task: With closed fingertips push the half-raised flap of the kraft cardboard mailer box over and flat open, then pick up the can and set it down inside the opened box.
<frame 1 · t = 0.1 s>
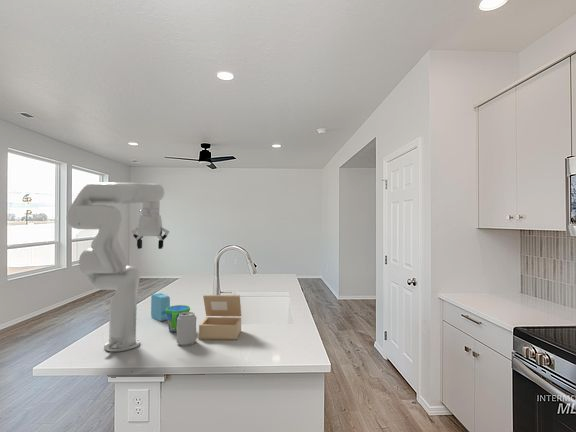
hand: (150, 248, 154), 37 cm above the worktop, tool pointing down, fingers open, 9 cm apart
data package: (160, 319, 167), on the worktop
lid: (222, 306, 147), point 12 cm above the worktop, hinge at 60.0°
can: (186, 343, 133), on the worktop
mailer: (220, 335, 143), on the worktop
snack cup: (177, 330, 149), on the worktop
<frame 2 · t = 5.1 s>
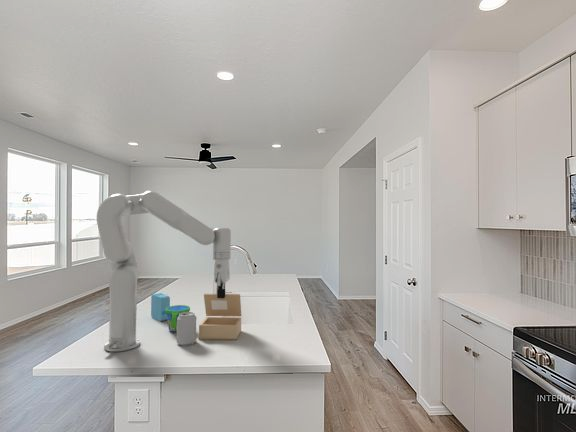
hand: (221, 297, 143), 16 cm above the worktop, tool pointing down, fingers closed
lid: (222, 305, 147), point 12 cm above the worktop, hinge at 64.7°, touching gripper
everything else where it was.
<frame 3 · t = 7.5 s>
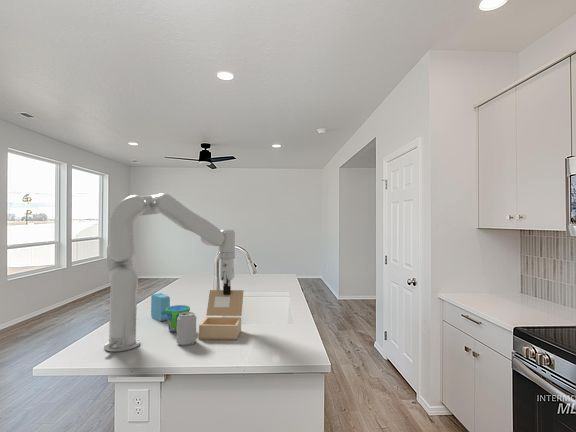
hand: (226, 294, 154), 15 cm above the worktop, tool pointing down, fingers closed
lid: (225, 302, 153), point 12 cm above the worktop, hinge at 121.4°, touching gripper
everything else where it was.
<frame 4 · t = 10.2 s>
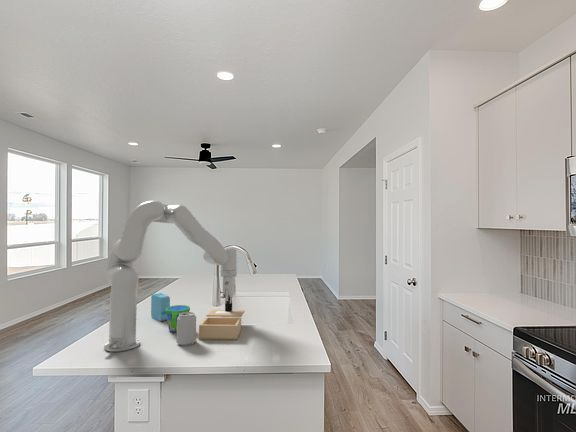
hand: (228, 310, 159), 6 cm above the worktop, tool pointing down, fingers closed
lid: (226, 313, 156), point 6 cm above the worktop, hinge at 183.6°, touching gripper
everything else where it was.
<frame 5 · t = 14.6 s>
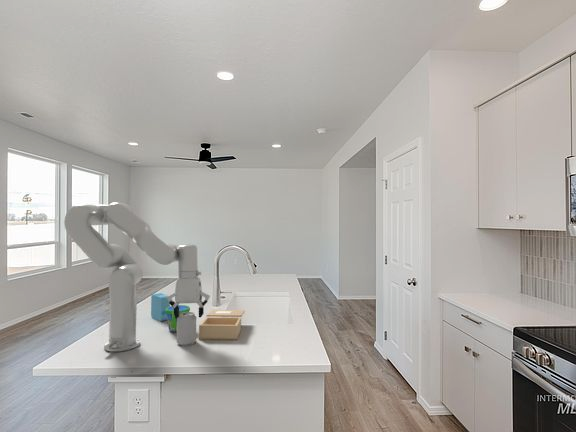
hand: (188, 316, 133), 11 cm above the worktop, tool pointing down, fingers open, 9 cm apart
lid: (226, 313, 156), point 6 cm above the worktop, hinge at 183.6°
can: (186, 343, 133), on the worktop, touching gripper
everything else where it was.
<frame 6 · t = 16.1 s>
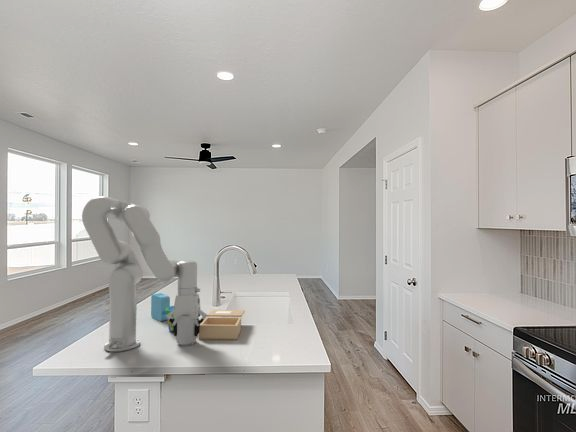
hand: (186, 334, 133), 3 cm above the worktop, tool pointing down, fingers closed on can, 7 cm apart
can: (186, 343, 133), on the worktop, touching gripper
everything else where it was.
when the fingers open (6 cm above the worktop, at t = 23.0 s): can drops 2 cm, resting on mailer.
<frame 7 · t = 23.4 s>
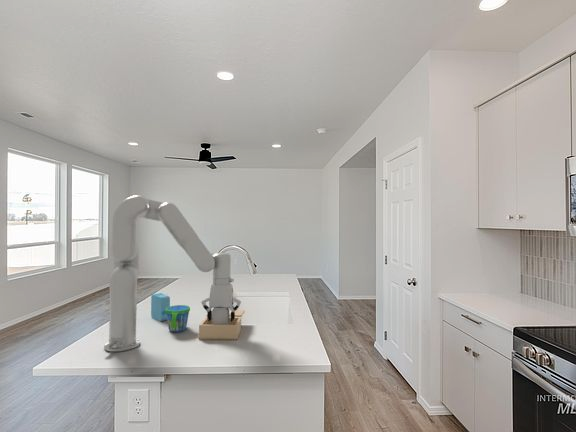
hand: (221, 320, 143), 6 cm above the worktop, tool pointing down, fingers open, 9 cm apart
can: (220, 334, 143), resting on mailer
everything else where it was.
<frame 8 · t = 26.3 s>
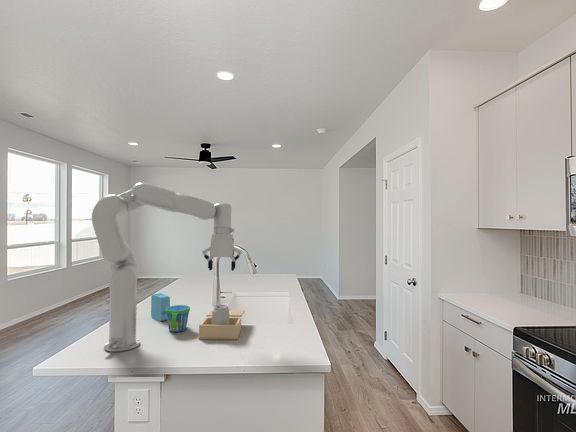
hand: (221, 270, 144), 28 cm above the worktop, tool pointing down, fingers open, 9 cm apart
nothing on the worktop moved.
at the end: lid at +184° (first picture: +60°); can inside the target area on the mailer (0.1 cm from its centre), point 0.4 cm above the mailer's base; can tilted 0° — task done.
